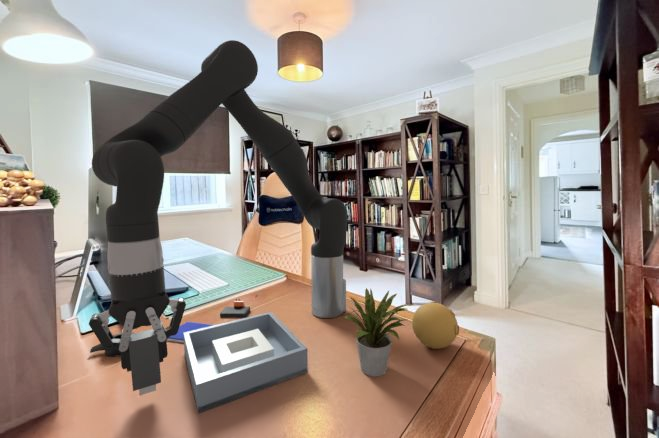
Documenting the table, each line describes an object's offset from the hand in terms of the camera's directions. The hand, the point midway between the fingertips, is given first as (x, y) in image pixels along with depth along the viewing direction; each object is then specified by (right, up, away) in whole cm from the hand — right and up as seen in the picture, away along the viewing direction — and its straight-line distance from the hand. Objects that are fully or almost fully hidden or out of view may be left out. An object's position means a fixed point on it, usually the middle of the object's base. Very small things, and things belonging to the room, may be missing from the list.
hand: (145, 363), depth 50 cm
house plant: (+40, -6, +8) cm, 41 cm away
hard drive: (-2, -5, +23) cm, 24 cm away
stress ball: (+55, -5, +17) cm, 58 cm away
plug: (0, -5, +1) cm, 5 cm away
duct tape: (-16, -5, +17) cm, 24 cm away
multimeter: (+3, -3, +42) cm, 42 cm away
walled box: (+13, -5, +11) cm, 18 cm away
